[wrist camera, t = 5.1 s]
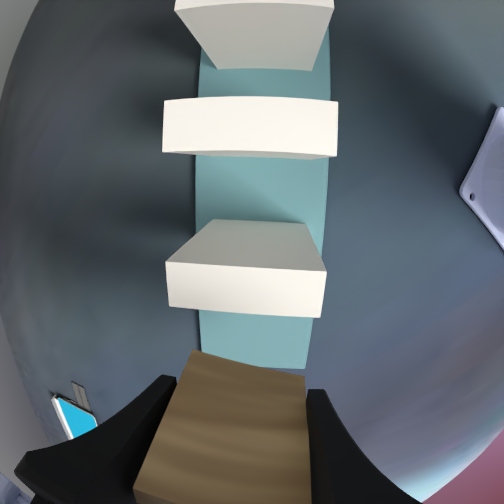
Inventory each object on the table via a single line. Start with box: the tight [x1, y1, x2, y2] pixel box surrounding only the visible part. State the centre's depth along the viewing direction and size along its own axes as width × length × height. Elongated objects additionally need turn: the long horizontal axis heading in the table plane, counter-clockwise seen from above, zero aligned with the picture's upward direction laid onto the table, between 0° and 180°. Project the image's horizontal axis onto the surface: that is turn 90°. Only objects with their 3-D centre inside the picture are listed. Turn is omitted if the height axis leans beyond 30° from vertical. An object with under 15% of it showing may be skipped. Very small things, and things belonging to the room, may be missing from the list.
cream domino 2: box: [162, 96, 338, 160], centre depth 11 cm, size 2×5×7 cm, turn 88°
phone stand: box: [51, 382, 97, 440], centre depth 25 cm, size 20×12×2 cm, turn 168°
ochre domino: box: [133, 349, 312, 504], centre depth 8 cm, size 2×5×7 cm, turn 76°
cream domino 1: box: [174, 0, 334, 71], centre depth 9 cm, size 2×5×7 cm, turn 88°
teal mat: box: [196, 27, 330, 369], centre depth 14 cm, size 28×7×1 cm, turn 178°
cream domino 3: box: [165, 219, 327, 318], centre depth 12 cm, size 2×5×7 cm, turn 89°
